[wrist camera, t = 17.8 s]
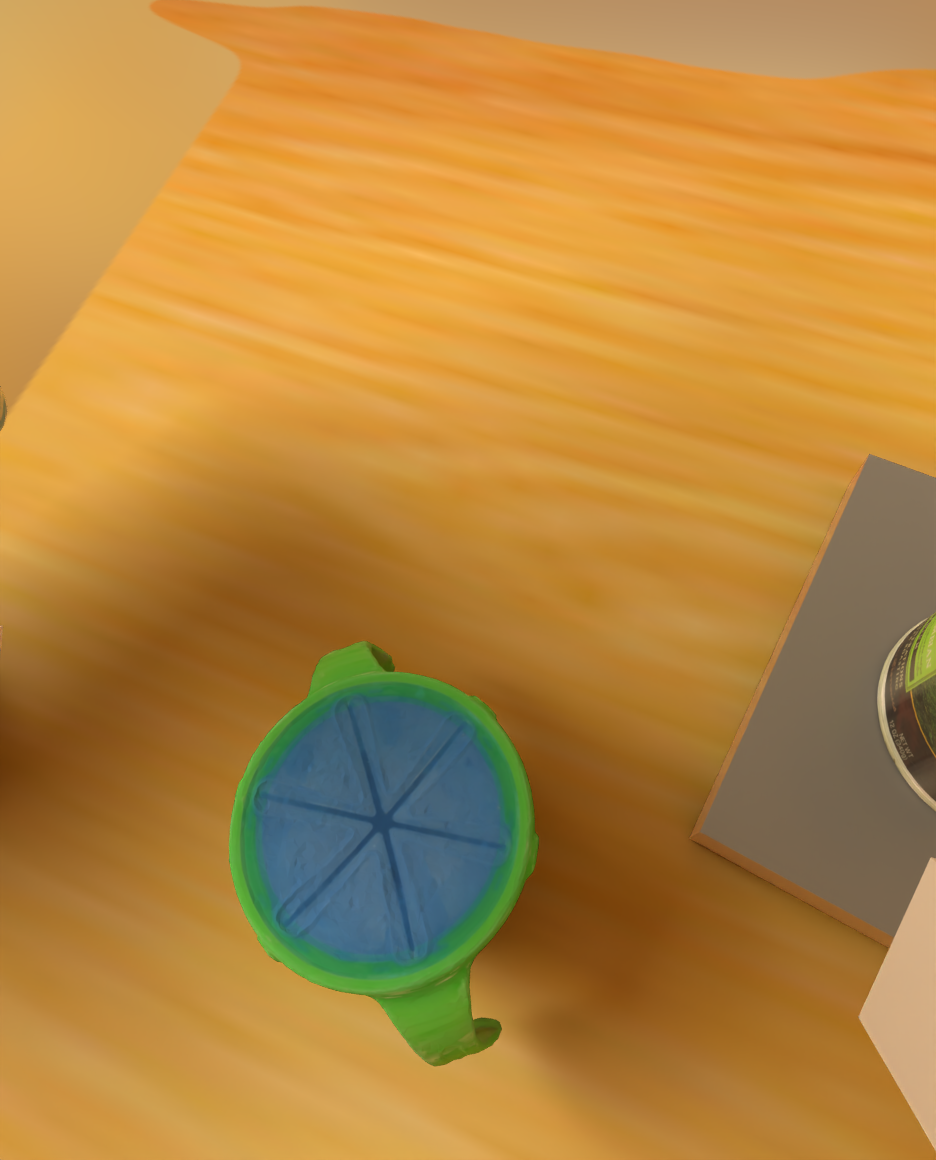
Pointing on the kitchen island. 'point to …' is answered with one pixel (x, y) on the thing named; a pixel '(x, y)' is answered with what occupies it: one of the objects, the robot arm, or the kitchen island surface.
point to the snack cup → (385, 843)
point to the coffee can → (912, 708)
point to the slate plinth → (837, 721)
